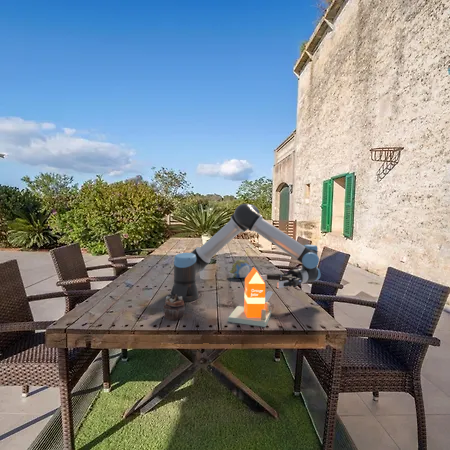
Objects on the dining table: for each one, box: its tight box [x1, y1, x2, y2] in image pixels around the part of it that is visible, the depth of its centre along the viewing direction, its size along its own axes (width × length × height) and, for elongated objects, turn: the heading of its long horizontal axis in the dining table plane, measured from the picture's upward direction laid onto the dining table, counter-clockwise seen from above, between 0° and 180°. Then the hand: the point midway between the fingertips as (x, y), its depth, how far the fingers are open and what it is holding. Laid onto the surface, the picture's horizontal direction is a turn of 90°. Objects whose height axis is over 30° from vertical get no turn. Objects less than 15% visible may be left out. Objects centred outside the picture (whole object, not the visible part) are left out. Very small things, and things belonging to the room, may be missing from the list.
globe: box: [229, 259, 251, 279], centre depth 210 cm, size 13×15×14 cm
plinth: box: [227, 301, 272, 328], centre depth 130 cm, size 16×16×6 cm
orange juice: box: [243, 266, 266, 318], centre depth 129 cm, size 8×9×20 cm
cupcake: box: [162, 294, 186, 321], centre depth 129 cm, size 10×10×10 cm
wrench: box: [265, 290, 274, 307], centre depth 158 cm, size 8×32×1 cm, turn 163°
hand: (266, 281), depth 135 cm, fingers open, 13 cm apart
